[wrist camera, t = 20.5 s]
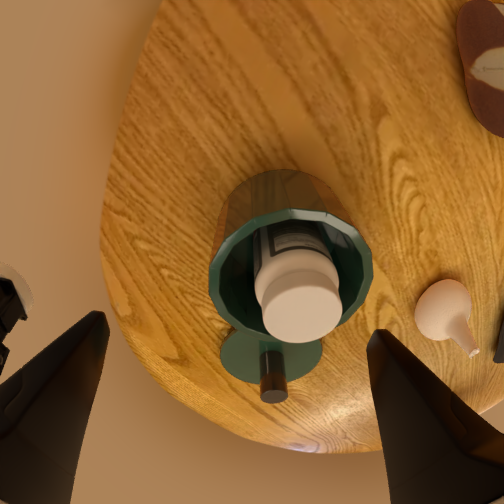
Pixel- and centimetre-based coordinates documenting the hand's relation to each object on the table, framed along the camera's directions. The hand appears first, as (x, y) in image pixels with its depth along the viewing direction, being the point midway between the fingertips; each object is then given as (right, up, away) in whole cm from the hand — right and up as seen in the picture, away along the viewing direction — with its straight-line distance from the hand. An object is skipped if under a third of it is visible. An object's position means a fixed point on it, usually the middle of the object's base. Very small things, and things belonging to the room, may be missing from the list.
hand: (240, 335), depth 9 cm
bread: (+20, +17, +5) cm, 27 cm away
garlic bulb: (+19, -2, +17) cm, 26 cm away
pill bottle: (+3, +4, +13) cm, 13 cm away
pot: (+3, +4, +13) cm, 14 cm away
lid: (+2, -7, +19) cm, 21 cm away
